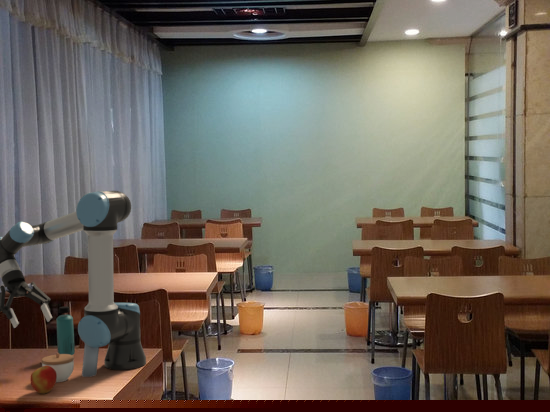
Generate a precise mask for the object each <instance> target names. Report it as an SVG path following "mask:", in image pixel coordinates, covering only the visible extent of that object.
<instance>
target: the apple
mask: <svg viewBox="0 0 550 412" xmlns="http://www.w3.org/2000/svg"><path fill="white" fill-rule="evenodd" d="M39 364H40V366H41V367H39V368H37V369H35V370H34V371H32V372H31V374H30V385H31V387H32V388H33V390H34V391H35V392H37V393H38V394H47V393H50V392H51V391H52V390H53V388H54V387H55V385H56V383H57V382H56V378H57V374H56V371H55V370H54V369H53V368H52V367H51V366H43V367H42V361H41V362H39Z"/></svg>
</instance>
